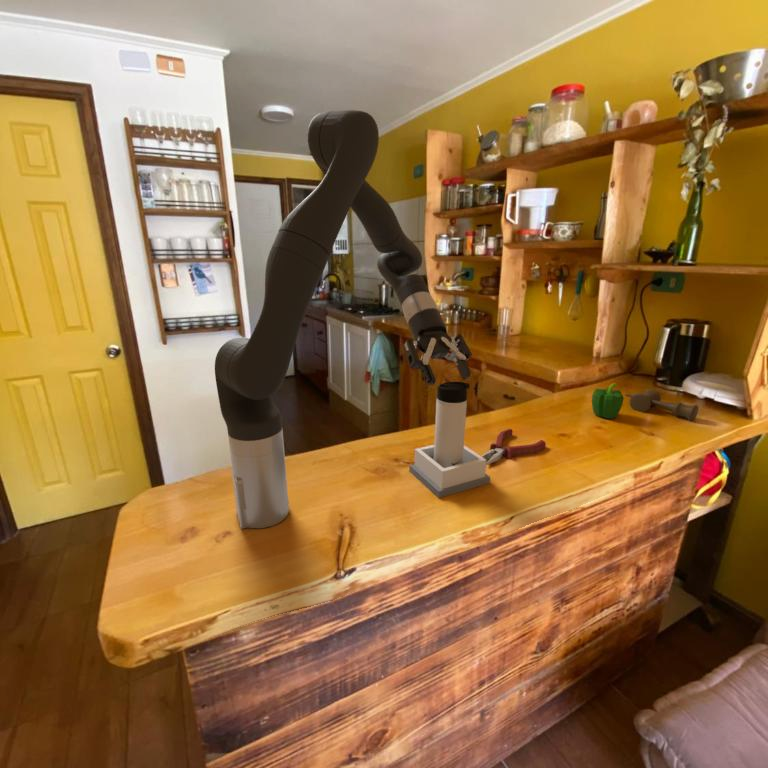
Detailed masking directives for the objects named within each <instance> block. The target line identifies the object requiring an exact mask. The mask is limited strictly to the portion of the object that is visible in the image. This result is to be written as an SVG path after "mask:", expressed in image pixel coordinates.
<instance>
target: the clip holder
mask: <svg viewBox="0 0 768 768" xmlns="http://www.w3.org/2000/svg"><path fill="white" fill-rule="evenodd" d="M481 456H482V455H480V454H478V453H477V452H475V451H473V450H472V449H471V448H470V447H468V446H466V445H464V450H463V463H462V464H458V465H455V466H451V467H447V468H443V467H442V466H440V465H439V464H438V463H437V462H435V461H434V444H430V445H426V446H423V447H418V448H415V449H414V462H413V464H409V466H408V467H409V468H408V469H409V470H408V471H409V473H411V474H412V476H414V477H415V478H416V479H417V480H419V482H421V483H422V485H424V487H426V488H427V489H428V490H429V491H430V492H431V493H432V494H433V495H434V496H436V498H438V499H440V498H444V497H446V496H450V495H454V494H457V493H461V492H465V491H467V490H471V489H475V488H479V487H482V486H484V485H488V484H491V476H490V475H488V474H487V473H486V470H487V469H486V468H487V465H486V463H487V459H484V458H483V457H481Z"/></svg>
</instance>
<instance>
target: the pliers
mask: <svg viewBox="0 0 768 768" xmlns="http://www.w3.org/2000/svg"><path fill="white" fill-rule="evenodd" d="M510 435H511V436H513V429H512V428H507V429H504V430H502V431H500V433H499V434H498V435H497V438H496V441H495V443H494V442H492V443H491V444H490V446H489V450H488V451H486V452H484V453H483V454H482V455H480V456H481V457H483V458H484V459H486V460H487V461H486V466H487V465H490V464H493V463H495V462H498V461H499V460H501V458H505V457H506V458H507V459H508V460H510V459H512V457H515V455H516V456H525V455H532V454H537V453H540V452H541V451H543V450H544V449H545V448H546V446H547V445H546V442H545V440H543V439H541V440H539V441H537V442H535V443H533V444H524V445H514V446H502V443H503V441H504V440H505V439H506V437H507V438H509V437H511V436H510ZM508 436H509V437H508ZM504 438H505V439H504ZM503 439H504V440H503ZM503 456H504V457H503ZM488 459H489V460H488Z"/></svg>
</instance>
